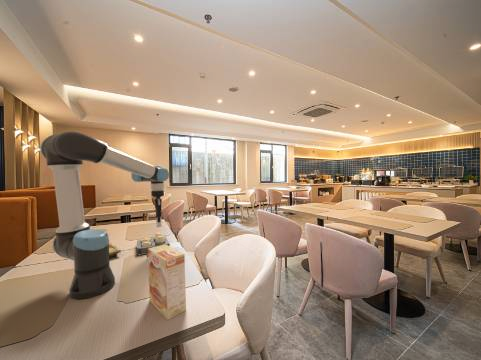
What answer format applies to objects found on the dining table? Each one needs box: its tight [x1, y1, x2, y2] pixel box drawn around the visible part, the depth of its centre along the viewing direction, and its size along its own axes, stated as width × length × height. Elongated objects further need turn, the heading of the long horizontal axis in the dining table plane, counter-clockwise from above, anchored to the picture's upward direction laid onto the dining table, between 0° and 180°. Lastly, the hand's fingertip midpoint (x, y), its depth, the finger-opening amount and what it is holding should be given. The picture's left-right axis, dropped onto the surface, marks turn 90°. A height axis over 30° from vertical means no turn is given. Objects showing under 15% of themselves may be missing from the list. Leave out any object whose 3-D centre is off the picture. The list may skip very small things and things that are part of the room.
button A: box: [156, 235, 164, 245], centre depth 129 cm, size 5×5×4 cm
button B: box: [142, 242, 151, 247], centre depth 125 cm, size 5×5×4 cm
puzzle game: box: [109, 242, 122, 258], centre depth 120 cm, size 12×5×20 cm
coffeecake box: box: [147, 244, 187, 321], centre depth 71 cm, size 15×7×20 cm, turn 45°
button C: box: [154, 232, 164, 241], centre depth 136 cm, size 5×5×4 cm
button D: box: [140, 237, 151, 243], centre depth 132 cm, size 5×5×4 cm
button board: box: [136, 235, 171, 256], centre depth 131 cm, size 18×18×4 cm
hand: (158, 226), depth 129 cm, fingers closed
